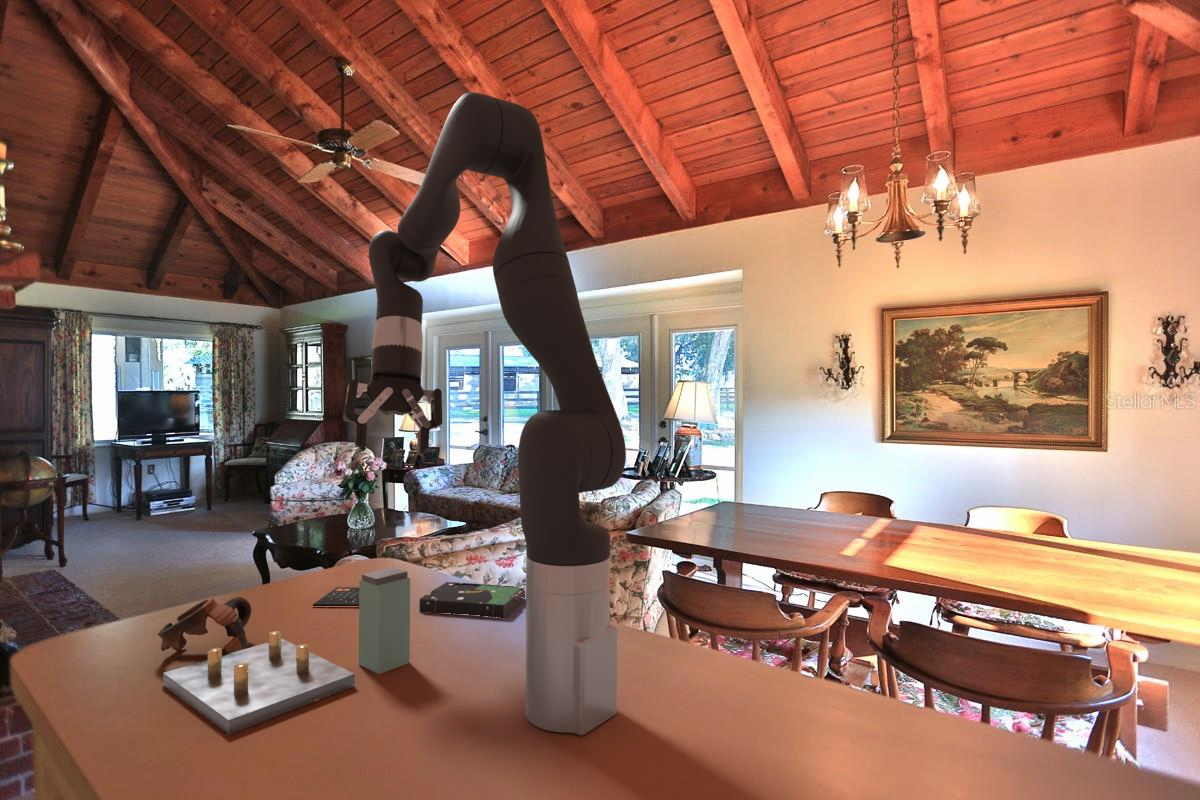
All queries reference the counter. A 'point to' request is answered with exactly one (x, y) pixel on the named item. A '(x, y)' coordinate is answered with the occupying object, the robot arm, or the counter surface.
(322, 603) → the calculator
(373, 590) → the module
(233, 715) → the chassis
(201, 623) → the pottery mug
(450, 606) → the disk drive
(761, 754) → the counter surface
